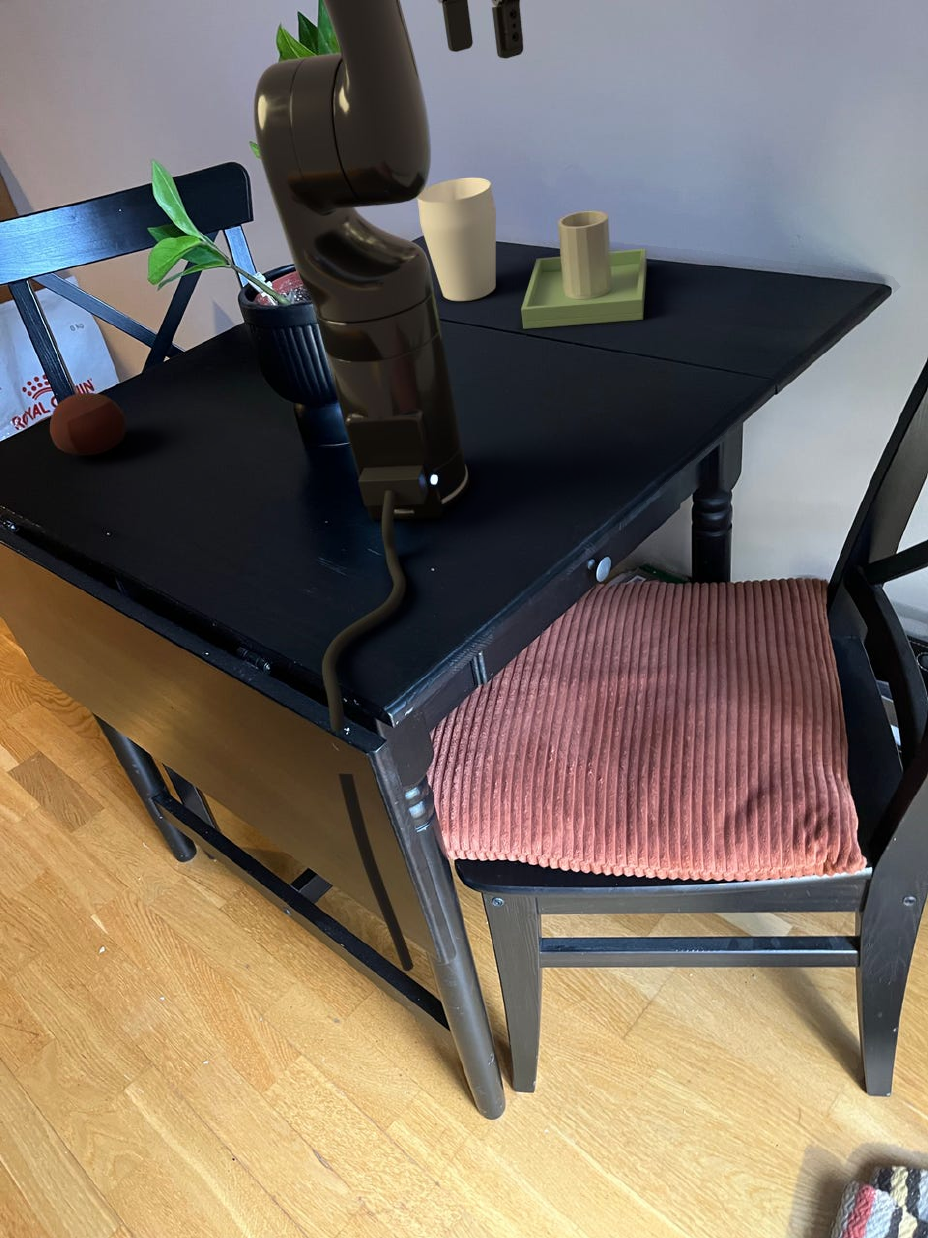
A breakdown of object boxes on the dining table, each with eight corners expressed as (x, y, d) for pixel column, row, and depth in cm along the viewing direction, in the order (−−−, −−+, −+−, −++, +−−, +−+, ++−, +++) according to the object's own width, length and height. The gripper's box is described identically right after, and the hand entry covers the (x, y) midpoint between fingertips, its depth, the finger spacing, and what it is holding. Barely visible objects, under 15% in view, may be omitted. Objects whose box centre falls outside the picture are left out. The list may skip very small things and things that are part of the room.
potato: (76, 478, 92) (49, 425, 88) (53, 451, 98) (27, 400, 94) (144, 449, 95) (121, 396, 91) (118, 424, 101) (96, 373, 97)
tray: (642, 319, 100) (642, 298, 99) (523, 328, 103) (521, 308, 102) (646, 267, 111) (646, 248, 110) (538, 277, 114) (536, 258, 113)
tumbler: (610, 297, 104) (606, 224, 99) (562, 301, 105) (555, 229, 100) (613, 278, 108) (609, 208, 103) (566, 282, 109) (560, 213, 104)
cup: (495, 304, 110) (481, 199, 102) (424, 307, 112) (405, 205, 105) (512, 274, 116) (500, 173, 108) (444, 278, 119) (428, 180, 111)
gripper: (372, -173, 74) (411, 58, 84) (459, -196, 64) (490, 69, 74) (452, -188, 76) (480, 38, 87) (548, -213, 66) (567, 47, 76)
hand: (485, 52), depth 80 cm, fingers open, 8 cm apart
